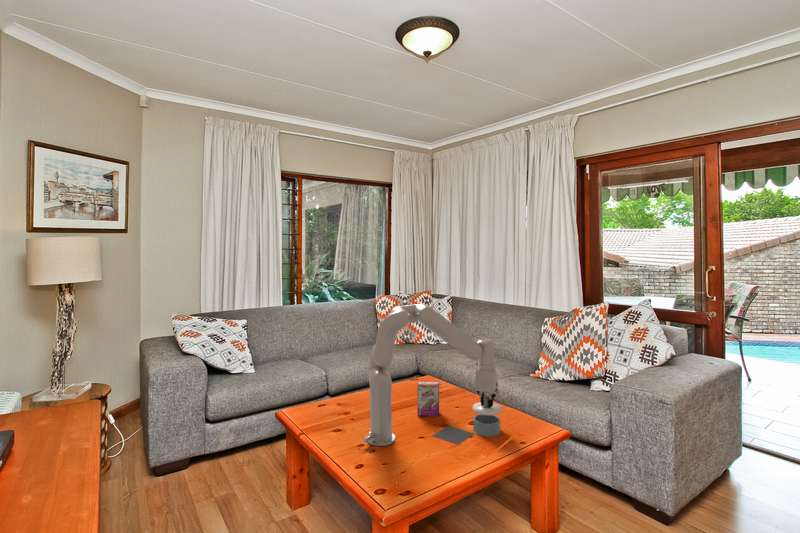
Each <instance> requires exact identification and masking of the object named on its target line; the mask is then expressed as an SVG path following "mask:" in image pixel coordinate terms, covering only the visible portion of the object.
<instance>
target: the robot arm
mask: <svg viewBox="0 0 800 533" xmlns="http://www.w3.org/2000/svg"><path fill="white" fill-rule="evenodd" d="M412 323H419V324H421V325H422V326H423V327H425V328H426V329H428V330H429V331H430V332H431V333H433V334H434V335H436V336H437V337H439V338H440V339H441V340H442V341H444V342H445V343H447V344H449V345H450V346H452V347H453V348H454V349H456V350H457V351H458V352H460V353H461V354H463V356H465V357H466V358H468V359H469V360H471V361H477V362H475V366H477V368H476V369H475V374H474V387H473V390H474V391H475V392H476V393H477V394H478V395H479V396H478V397H479V399H480V402H481V406H484V400H483V396H484V395H485V393H486V394H488V396H489V399H488V407H489V408H491V407H492V406H493V403H494V398H495V397H497V396H500V395H501V392H500V389H499V382H498V381H499V379H498V374H497V370H496V369H495V365H496V364H495V359H496V358H495V342H494V340H493V339H489V338H483V339H473V338H471V337H470V336H468V335H466V333H464V332H463V331H461V329H459V328H458V327H457V326H456V325H455V324H453V323H452V322H451V321H450V320H448V318H446V317H445V316H443V315H441V314H440V313H439V312H438V311H436V310H435V309H434V308H432V307H431V306H429V305H428V304H426V303H418V304H407V305H397V306H394V307H392V308H391V310H390V312H389V314H388V315H386V317H385V318H383V320H382V321H381V322H380V323H379V326H378V329H377V331H376V332H377V333H376V337H375V338H376V339H375V343H374V345H373V346H372V347H371V351H370V358H369V359H370V360H369V366H368V380H369V408H370V410H369V412H370V415H369V416H370V422H369V423H370V431H369V432H368V435H367V436H366V437H364V438H363V443H364V444H365V443H368V444H369V445H372V446H375V447H386V446H389V445H392V444H394V442H395V441H396V438H397V437H396V435H395V434H394V433H393V421H392V420H393V417H392V415H393V413H392V412H393V411H392V407H393V406H392V391H393V390H392V389H393V384H392V383H393V382H392V377H391V373H390V366H391V364H392V362H393V361H394V357H395V356H394V355H395V354H394V353H395V345H396V339H397V335H398V333H399V332H400V330H402V329H404V328H407V327H408V326H409V324H412Z"/></svg>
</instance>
